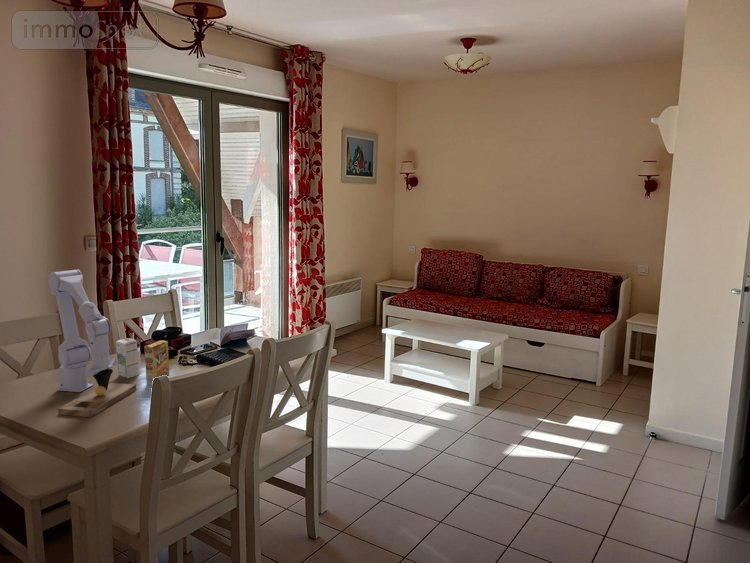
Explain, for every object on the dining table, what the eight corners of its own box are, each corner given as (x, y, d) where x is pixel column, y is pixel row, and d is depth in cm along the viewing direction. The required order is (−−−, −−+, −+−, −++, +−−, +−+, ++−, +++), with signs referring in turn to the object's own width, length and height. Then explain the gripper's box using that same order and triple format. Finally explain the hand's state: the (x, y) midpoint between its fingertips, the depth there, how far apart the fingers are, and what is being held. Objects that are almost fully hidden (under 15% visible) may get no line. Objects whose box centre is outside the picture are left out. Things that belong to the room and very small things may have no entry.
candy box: (155, 386, 222) (153, 346, 219) (145, 384, 223) (143, 345, 221) (170, 378, 230) (168, 340, 228) (161, 377, 232) (159, 339, 229)
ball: (95, 384, 206) (100, 389, 209) (91, 392, 204) (96, 398, 206) (104, 383, 205) (109, 389, 208) (100, 392, 203) (105, 397, 205)
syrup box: (139, 374, 234) (137, 339, 232) (126, 378, 229) (124, 343, 227) (130, 372, 237) (128, 337, 235) (117, 376, 232) (115, 340, 230)
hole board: (58, 414, 194) (57, 408, 194) (106, 387, 220) (106, 382, 219) (91, 417, 192) (90, 411, 192) (136, 389, 218) (136, 384, 217)
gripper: (97, 359, 197) (101, 398, 199) (123, 347, 211) (125, 384, 213) (78, 358, 198) (82, 397, 201) (105, 347, 212) (108, 383, 215)
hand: (103, 390), depth 207 cm, fingers closed, pressing on ball
